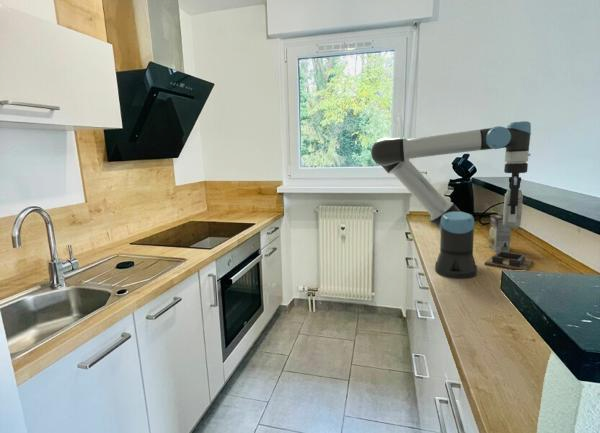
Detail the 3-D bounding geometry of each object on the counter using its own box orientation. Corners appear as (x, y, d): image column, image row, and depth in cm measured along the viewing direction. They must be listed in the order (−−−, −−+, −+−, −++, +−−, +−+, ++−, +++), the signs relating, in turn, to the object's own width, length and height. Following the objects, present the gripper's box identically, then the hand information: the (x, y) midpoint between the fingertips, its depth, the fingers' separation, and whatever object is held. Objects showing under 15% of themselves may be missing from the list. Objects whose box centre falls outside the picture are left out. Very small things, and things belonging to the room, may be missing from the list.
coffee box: (487, 246, 155) (489, 214, 152) (502, 246, 154) (504, 214, 151) (495, 251, 146) (497, 218, 143) (510, 251, 145) (512, 218, 142)
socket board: (524, 272, 121) (525, 263, 121) (484, 264, 131) (484, 256, 131) (532, 262, 131) (533, 254, 130) (494, 256, 141) (495, 248, 140)
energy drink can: (509, 224, 132) (512, 189, 129) (523, 227, 126) (527, 190, 123) (498, 226, 130) (501, 190, 127) (513, 229, 124) (516, 191, 121)
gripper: (529, 163, 113) (524, 225, 118) (526, 161, 129) (521, 216, 133) (504, 164, 117) (500, 224, 122) (504, 161, 133) (500, 215, 137)
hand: (511, 220), depth 127 cm, fingers closed on energy drink can, 6 cm apart
